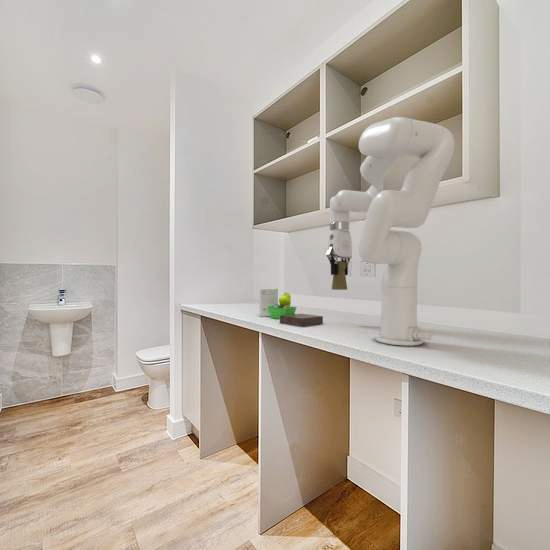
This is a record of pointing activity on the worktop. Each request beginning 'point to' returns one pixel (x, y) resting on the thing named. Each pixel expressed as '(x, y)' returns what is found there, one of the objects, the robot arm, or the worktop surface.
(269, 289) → the small box
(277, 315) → the fruit basket
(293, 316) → the block
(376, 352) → the worktop surface
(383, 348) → the worktop surface
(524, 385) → the worktop surface
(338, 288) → the olive tapered cylinder
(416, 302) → the robot arm
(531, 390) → the worktop surface
